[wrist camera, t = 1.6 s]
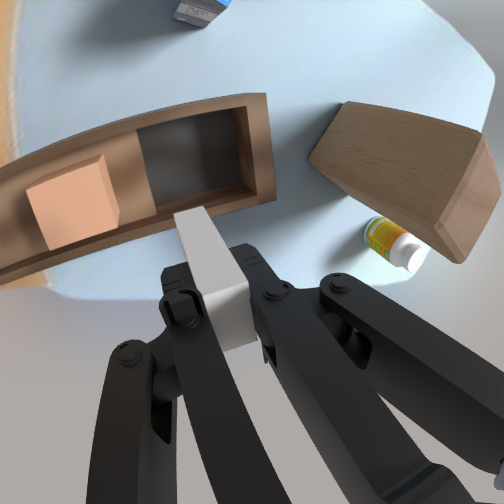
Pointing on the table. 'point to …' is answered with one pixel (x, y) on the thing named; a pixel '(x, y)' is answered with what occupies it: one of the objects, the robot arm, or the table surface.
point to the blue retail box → (199, 11)
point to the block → (413, 173)
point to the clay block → (74, 202)
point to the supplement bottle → (394, 243)
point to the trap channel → (146, 175)
